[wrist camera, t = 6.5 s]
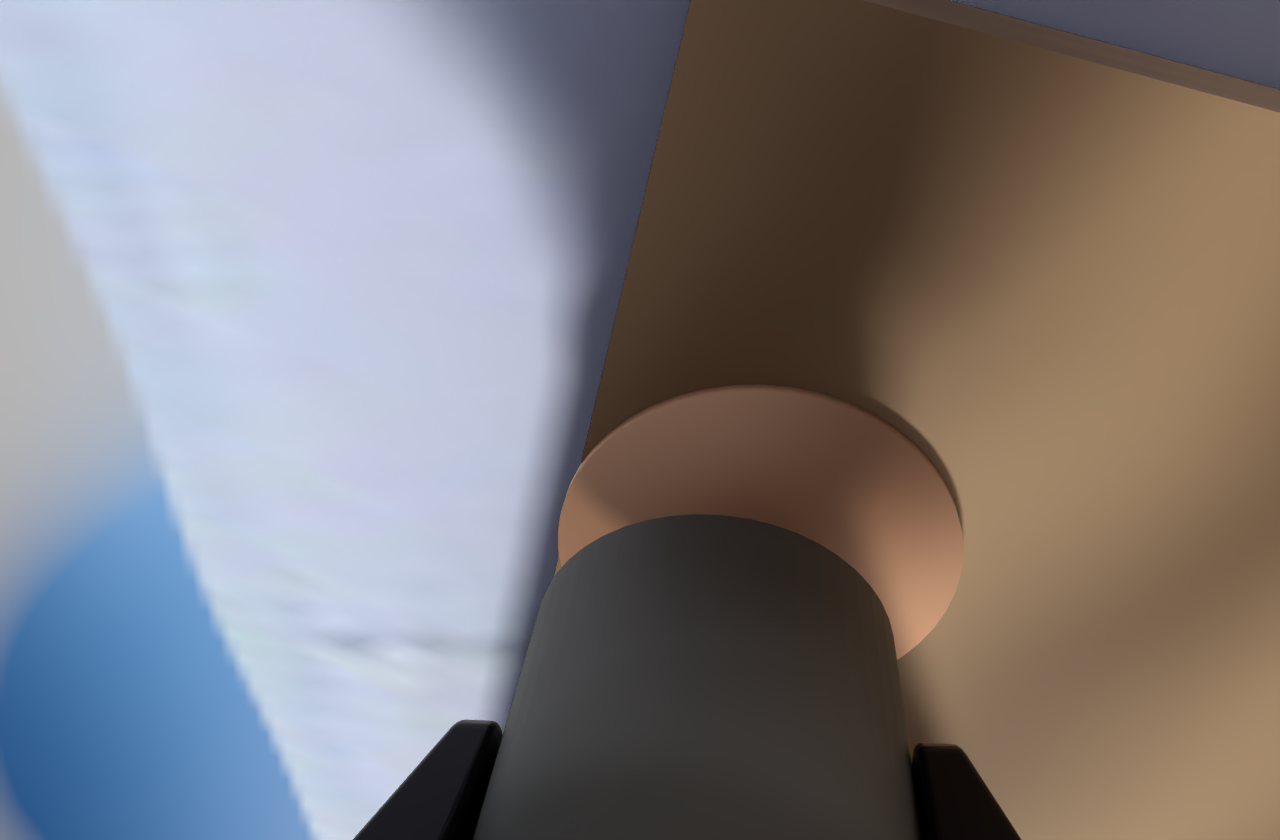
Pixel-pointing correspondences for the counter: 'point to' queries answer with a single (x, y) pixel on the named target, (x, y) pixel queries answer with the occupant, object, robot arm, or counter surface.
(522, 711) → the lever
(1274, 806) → the board
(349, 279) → the counter surface
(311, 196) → the counter surface
